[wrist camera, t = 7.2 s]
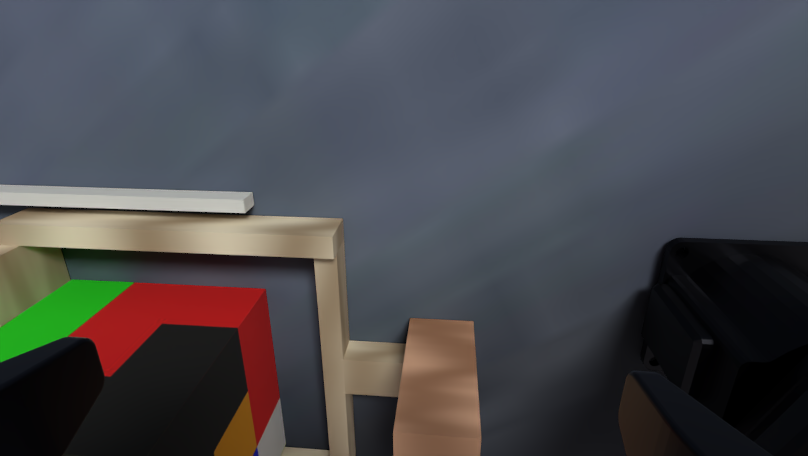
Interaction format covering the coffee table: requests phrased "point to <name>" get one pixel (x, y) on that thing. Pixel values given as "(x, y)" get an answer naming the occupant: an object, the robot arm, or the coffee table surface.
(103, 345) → the puzzle toy
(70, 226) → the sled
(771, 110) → the coffee table surface
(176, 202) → the frame
